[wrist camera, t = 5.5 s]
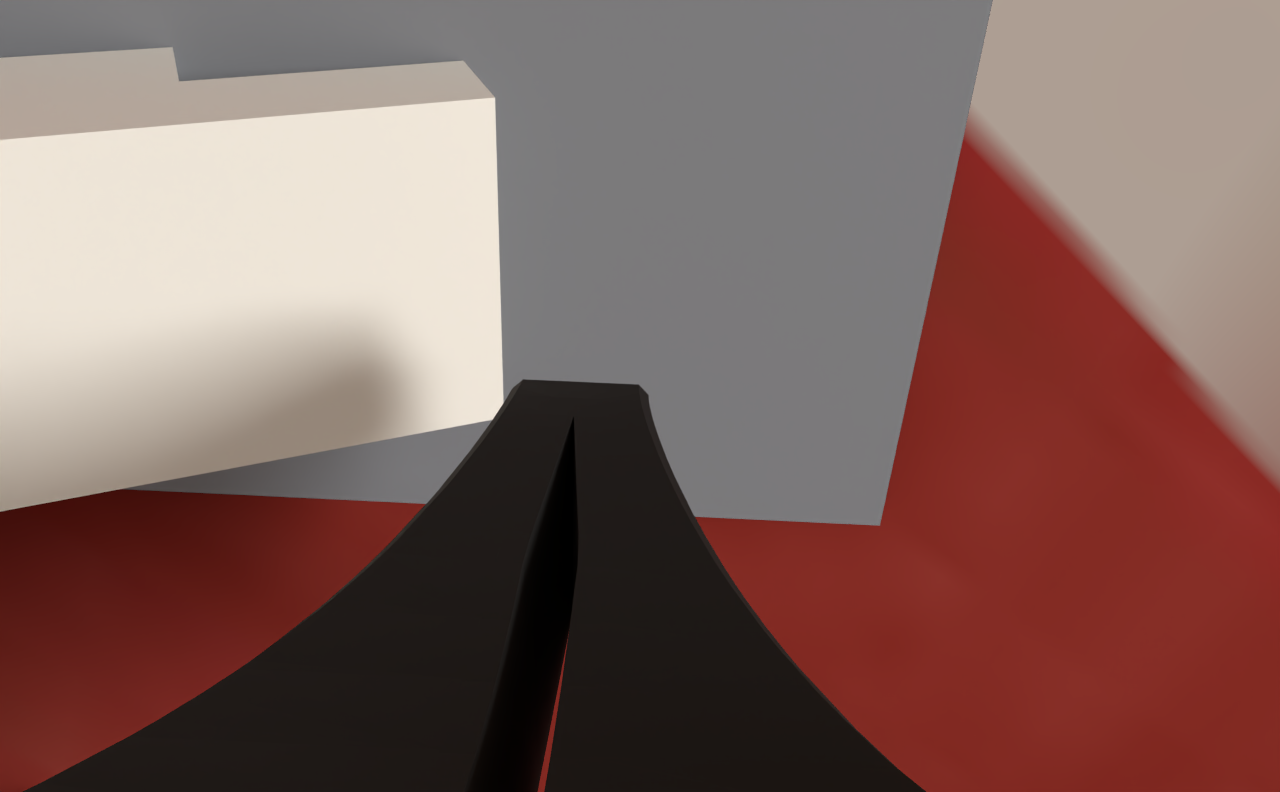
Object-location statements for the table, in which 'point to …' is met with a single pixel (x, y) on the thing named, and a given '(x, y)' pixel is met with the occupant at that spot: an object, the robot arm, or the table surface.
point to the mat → (652, 214)
